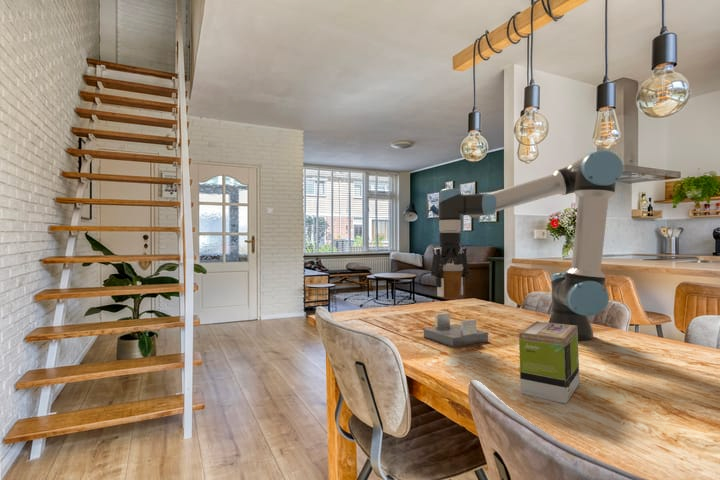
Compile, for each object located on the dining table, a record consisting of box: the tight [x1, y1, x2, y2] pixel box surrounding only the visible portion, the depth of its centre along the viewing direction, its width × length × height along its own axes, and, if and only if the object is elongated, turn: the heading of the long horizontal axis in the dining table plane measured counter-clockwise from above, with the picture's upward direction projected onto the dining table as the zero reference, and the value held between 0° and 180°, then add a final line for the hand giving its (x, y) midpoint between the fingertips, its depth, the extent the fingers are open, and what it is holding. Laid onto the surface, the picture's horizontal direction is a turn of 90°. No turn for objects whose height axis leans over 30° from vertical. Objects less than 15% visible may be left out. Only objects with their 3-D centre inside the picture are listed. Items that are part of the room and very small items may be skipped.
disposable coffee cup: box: [439, 262, 463, 300], centre depth 139 cm, size 10×10×12 cm
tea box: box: [518, 320, 580, 404], centre depth 93 cm, size 15×10×15 cm, turn 141°
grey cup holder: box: [423, 312, 489, 348], centre depth 140 cm, size 16×16×8 cm
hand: (450, 295), depth 139 cm, fingers closed on disposable coffee cup, 8 cm apart
